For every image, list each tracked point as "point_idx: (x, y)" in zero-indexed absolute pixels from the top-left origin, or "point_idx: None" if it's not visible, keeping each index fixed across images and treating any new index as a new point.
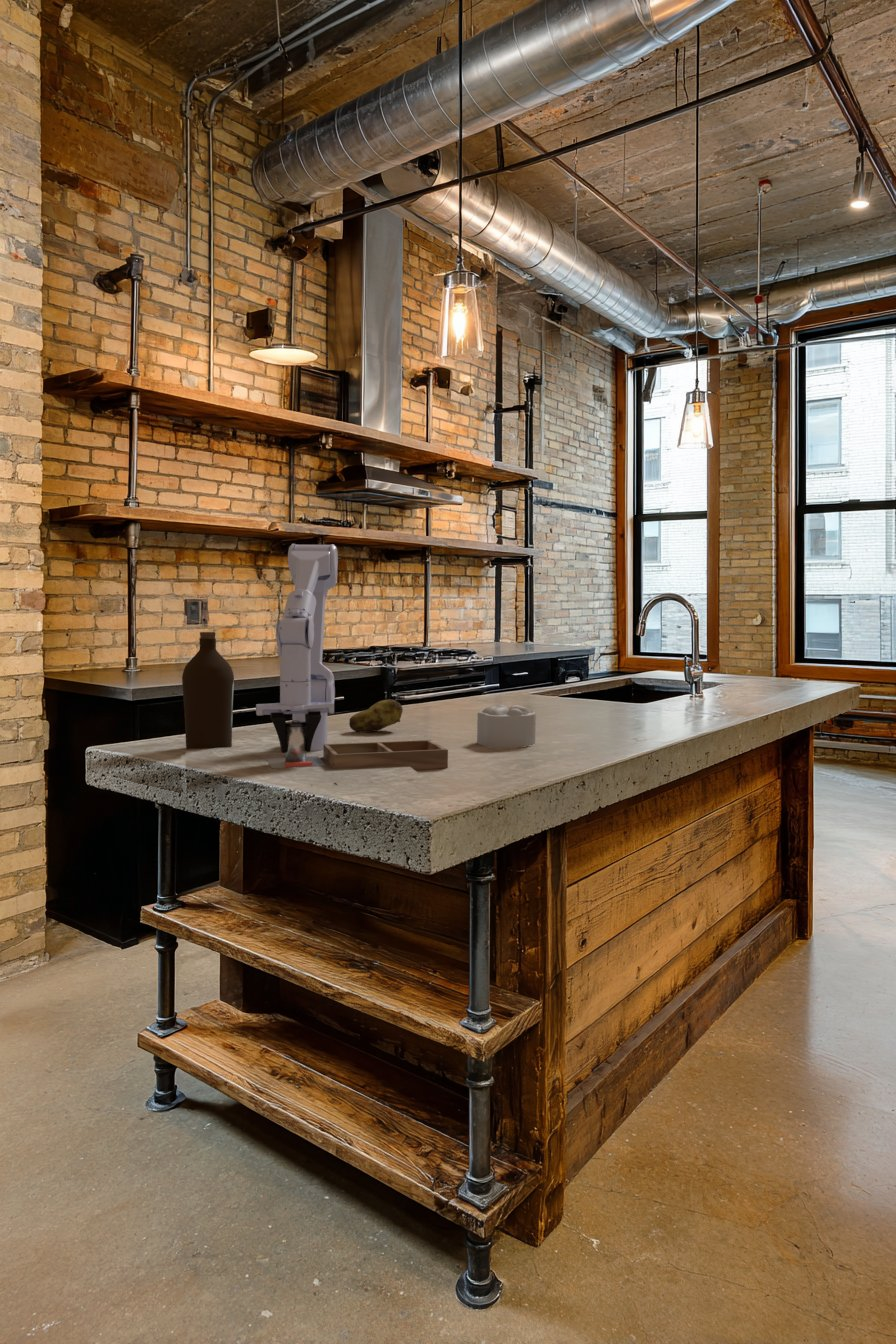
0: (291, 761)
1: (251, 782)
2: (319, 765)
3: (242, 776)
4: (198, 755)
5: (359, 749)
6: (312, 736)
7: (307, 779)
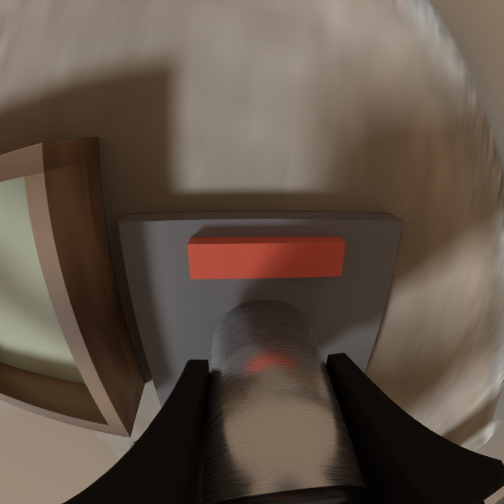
0: (294, 312)
1: (469, 80)
2: (151, 232)
3: (478, 199)
4: None
5: (21, 383)
6: (157, 423)
7: (250, 30)
